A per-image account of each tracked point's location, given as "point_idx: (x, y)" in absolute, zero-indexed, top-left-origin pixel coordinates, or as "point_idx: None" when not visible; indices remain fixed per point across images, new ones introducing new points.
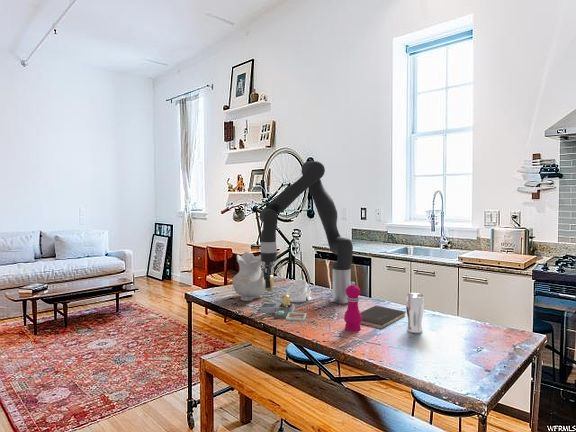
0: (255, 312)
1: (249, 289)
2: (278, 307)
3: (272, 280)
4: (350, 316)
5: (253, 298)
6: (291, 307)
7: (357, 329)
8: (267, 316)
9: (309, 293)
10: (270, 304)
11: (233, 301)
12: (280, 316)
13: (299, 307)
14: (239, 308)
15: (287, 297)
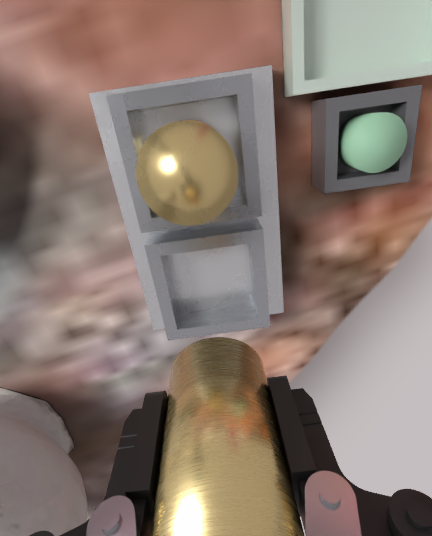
0: (243, 332)
1: (70, 493)
2: (252, 205)
3: (242, 446)
4: None
5: (38, 421)
6: (225, 88)
7: None
8: (303, 246)
9: None
10: (170, 290)
11: (104, 472)
12: (410, 130)
13: (22, 77)
14: None
15: (223, 138)
